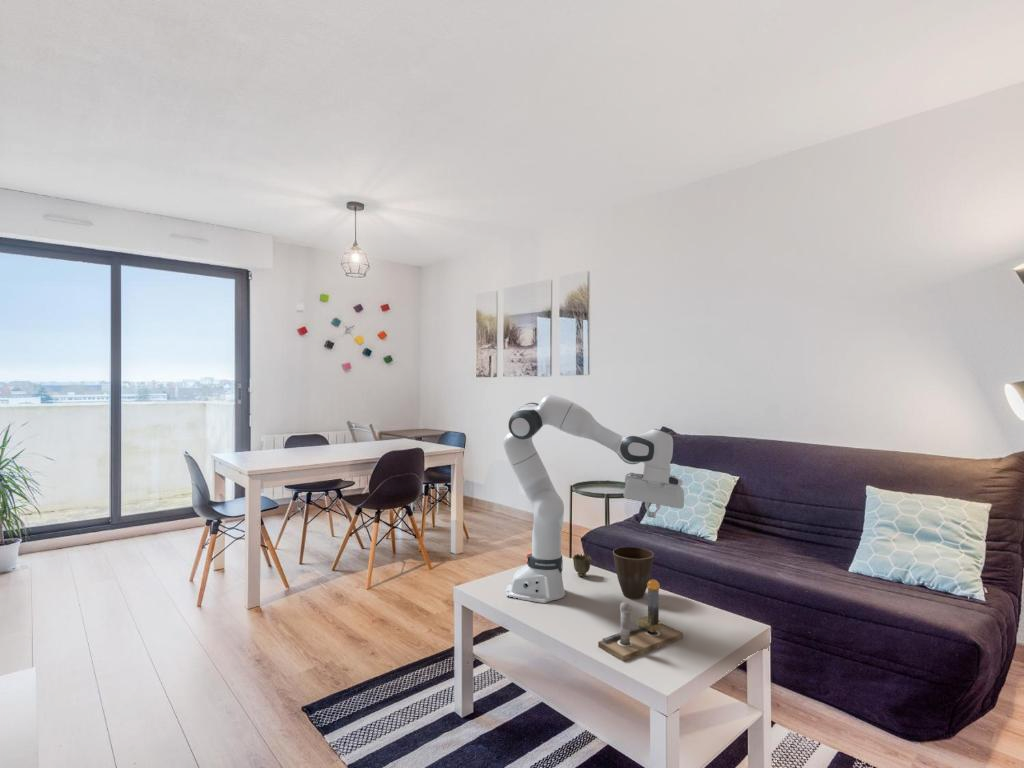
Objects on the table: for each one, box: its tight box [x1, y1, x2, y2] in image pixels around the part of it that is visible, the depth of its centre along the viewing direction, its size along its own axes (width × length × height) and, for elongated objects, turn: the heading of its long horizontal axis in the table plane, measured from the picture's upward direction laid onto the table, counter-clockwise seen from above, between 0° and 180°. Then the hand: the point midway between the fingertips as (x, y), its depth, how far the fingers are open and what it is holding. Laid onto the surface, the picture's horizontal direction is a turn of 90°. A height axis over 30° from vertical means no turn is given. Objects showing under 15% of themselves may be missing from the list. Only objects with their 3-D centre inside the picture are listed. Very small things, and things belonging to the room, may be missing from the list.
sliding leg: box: [636, 579, 663, 632], centre depth 159 cm, size 4×6×16 cm
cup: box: [572, 553, 592, 578], centre depth 212 cm, size 8×7×8 cm
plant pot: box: [612, 546, 655, 600], centre depth 191 cm, size 15×15×16 cm
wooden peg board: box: [597, 601, 684, 662], centre depth 155 cm, size 26×10×13 cm, turn 124°
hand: (651, 517), depth 175 cm, fingers closed
